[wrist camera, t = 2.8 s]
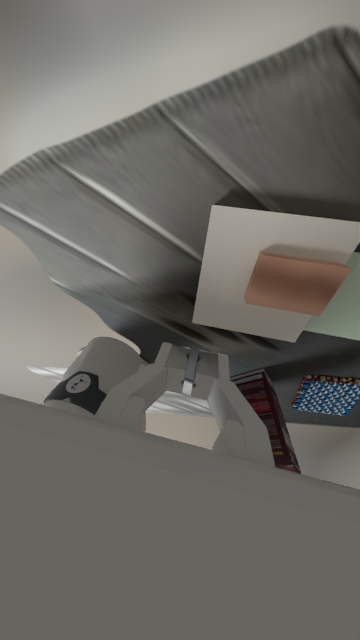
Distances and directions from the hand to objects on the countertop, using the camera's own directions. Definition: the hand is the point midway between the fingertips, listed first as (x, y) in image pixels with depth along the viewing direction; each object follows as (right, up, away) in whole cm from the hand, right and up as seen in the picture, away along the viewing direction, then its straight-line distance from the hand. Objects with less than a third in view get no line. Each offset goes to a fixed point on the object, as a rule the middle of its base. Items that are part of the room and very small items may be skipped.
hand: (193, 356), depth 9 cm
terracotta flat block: (+13, +7, +12) cm, 19 cm away
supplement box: (+14, -11, +27) cm, 33 cm away
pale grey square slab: (+10, +8, +15) cm, 20 cm away
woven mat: (+29, -13, +26) cm, 41 cm away
